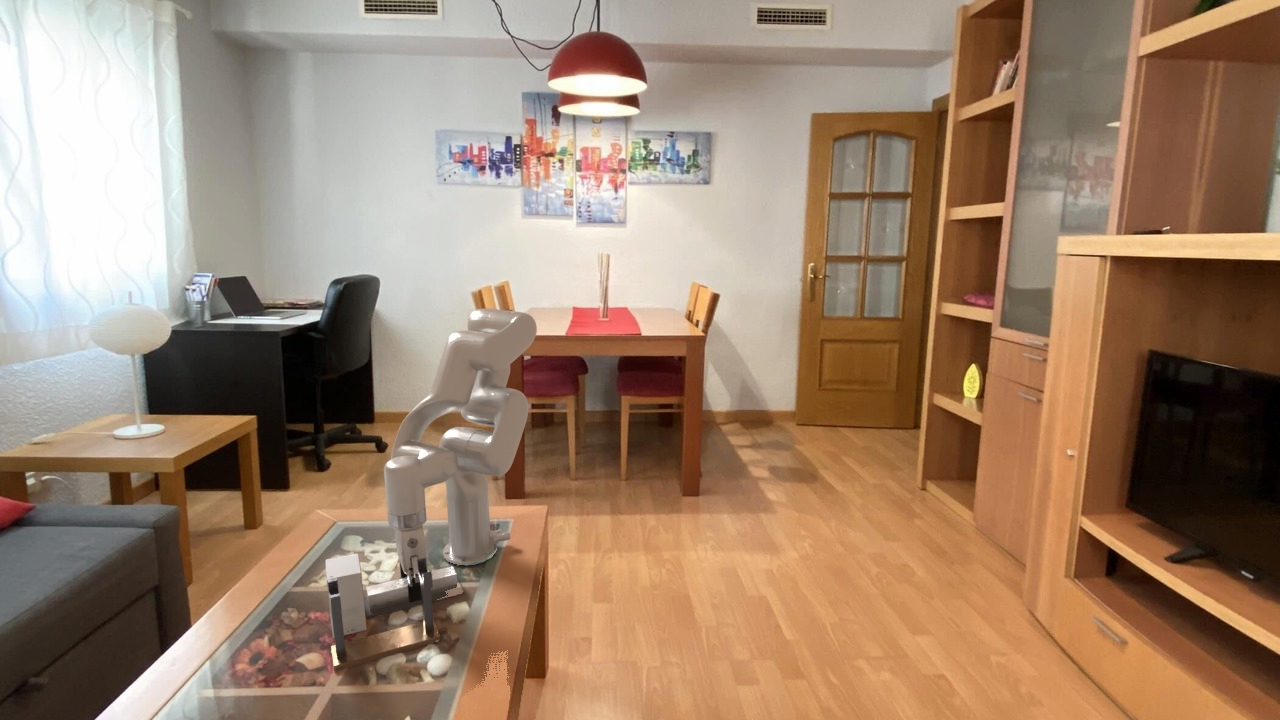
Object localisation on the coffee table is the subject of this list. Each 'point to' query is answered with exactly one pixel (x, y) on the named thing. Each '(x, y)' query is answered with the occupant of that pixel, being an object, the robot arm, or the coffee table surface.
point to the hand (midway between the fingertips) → (412, 587)
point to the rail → (398, 588)
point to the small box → (348, 591)
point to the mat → (396, 606)
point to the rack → (385, 641)
